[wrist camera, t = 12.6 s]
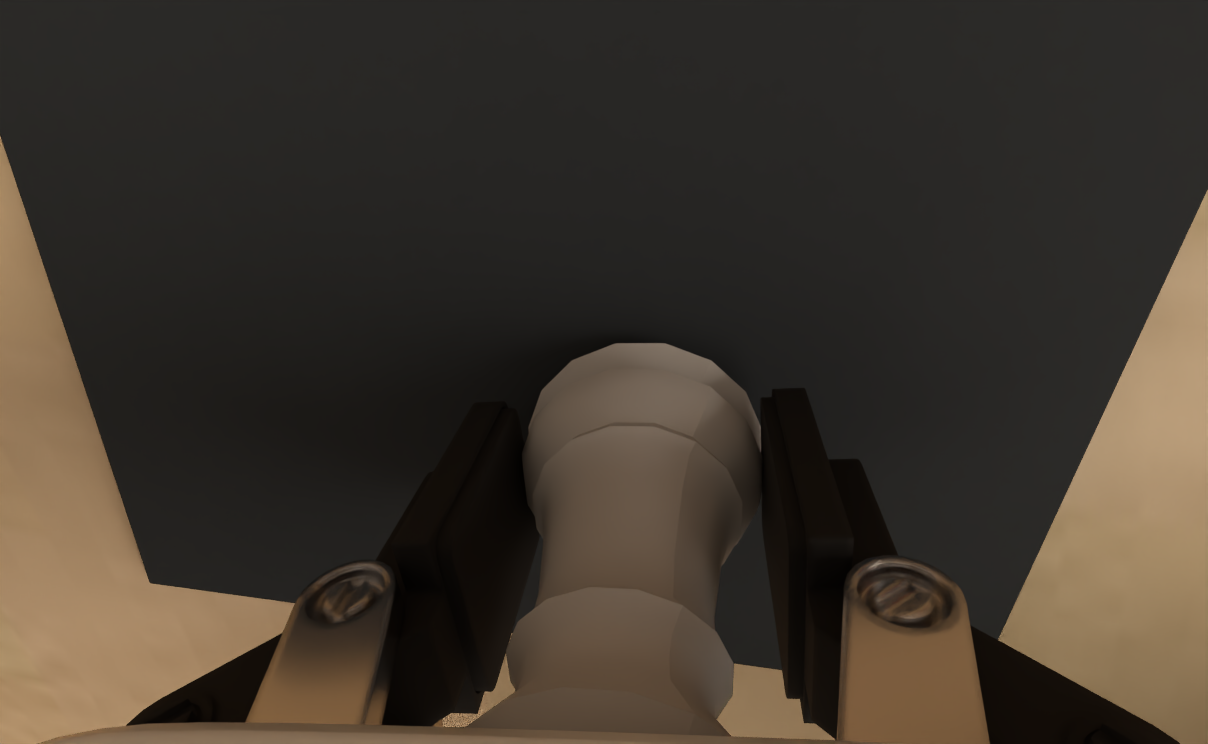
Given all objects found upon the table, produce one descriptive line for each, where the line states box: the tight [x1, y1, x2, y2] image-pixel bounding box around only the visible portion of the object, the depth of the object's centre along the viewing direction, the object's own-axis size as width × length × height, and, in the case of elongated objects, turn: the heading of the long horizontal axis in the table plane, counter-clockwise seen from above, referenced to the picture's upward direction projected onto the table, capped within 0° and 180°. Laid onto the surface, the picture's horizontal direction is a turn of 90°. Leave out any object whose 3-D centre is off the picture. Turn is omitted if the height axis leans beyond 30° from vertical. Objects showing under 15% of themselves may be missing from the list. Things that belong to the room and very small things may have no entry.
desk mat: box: [0, 0, 1208, 670], centre depth 13 cm, size 20×14×1 cm
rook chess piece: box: [465, 343, 763, 736], centre depth 10 cm, size 4×4×8 cm
